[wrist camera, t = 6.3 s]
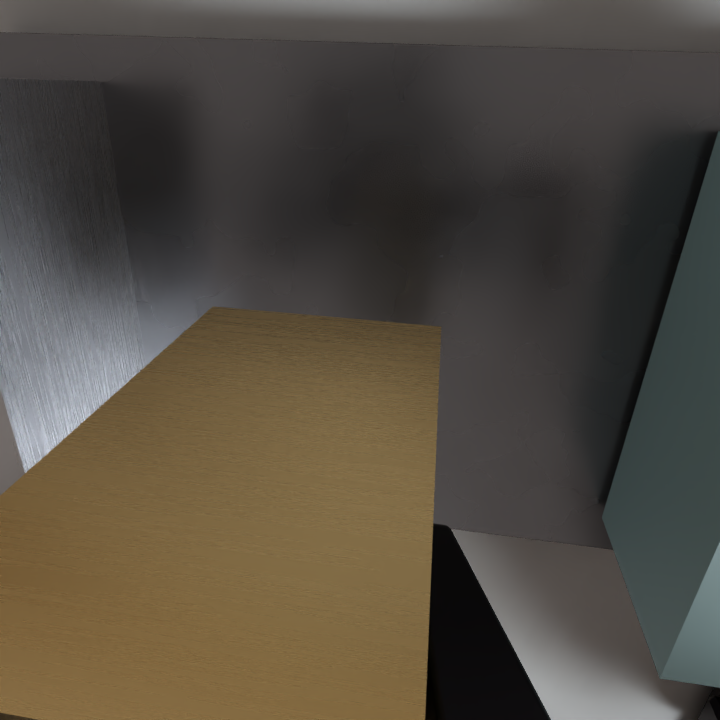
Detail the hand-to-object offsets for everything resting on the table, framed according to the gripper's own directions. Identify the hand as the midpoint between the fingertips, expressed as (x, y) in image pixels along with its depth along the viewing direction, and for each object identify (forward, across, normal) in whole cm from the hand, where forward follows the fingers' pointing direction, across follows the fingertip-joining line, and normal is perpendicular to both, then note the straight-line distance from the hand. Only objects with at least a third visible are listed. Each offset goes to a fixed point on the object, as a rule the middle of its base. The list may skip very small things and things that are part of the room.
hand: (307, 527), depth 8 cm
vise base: (+9, 0, 0) cm, 9 cm away
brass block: (+1, 0, 0) cm, 1 cm away
